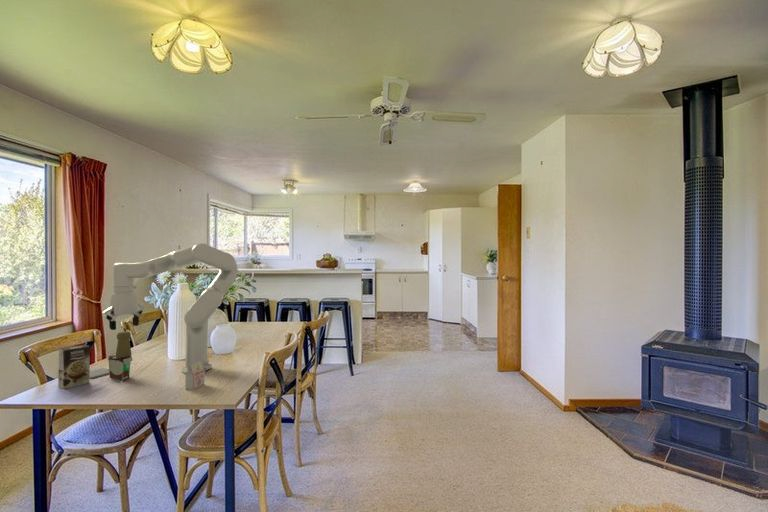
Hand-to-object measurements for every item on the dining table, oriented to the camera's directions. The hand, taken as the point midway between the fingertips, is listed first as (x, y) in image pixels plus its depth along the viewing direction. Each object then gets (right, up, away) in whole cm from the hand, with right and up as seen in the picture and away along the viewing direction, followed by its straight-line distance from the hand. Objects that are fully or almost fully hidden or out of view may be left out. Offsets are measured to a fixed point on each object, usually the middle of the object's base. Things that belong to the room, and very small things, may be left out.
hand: (124, 327), depth 165 cm
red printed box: (+37, -24, -10) cm, 45 cm away
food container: (-1, -23, 0) cm, 23 cm away
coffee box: (-15, -23, -9) cm, 29 cm away
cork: (0, -13, 0) cm, 13 cm away
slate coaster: (-16, -23, +5) cm, 28 cm away
